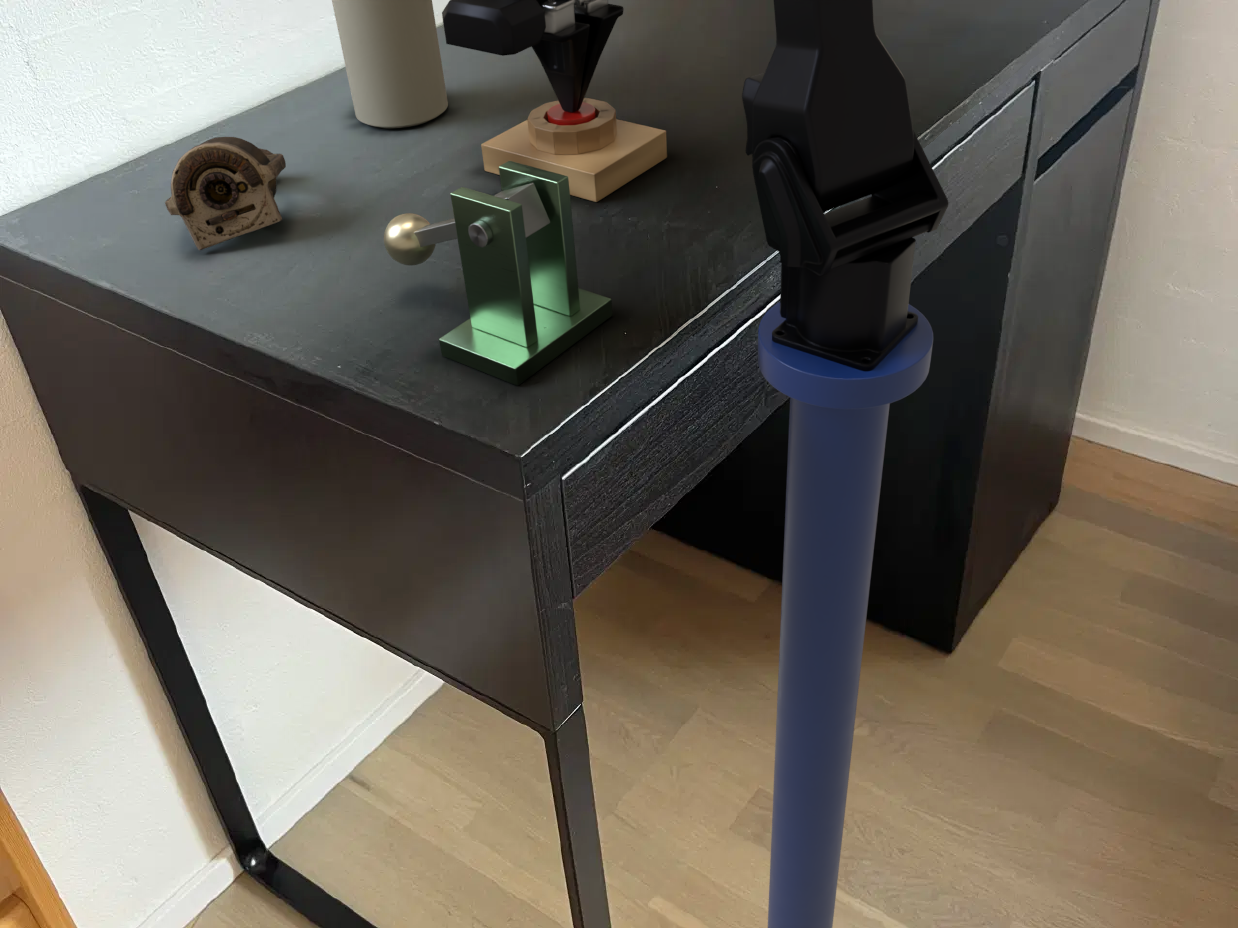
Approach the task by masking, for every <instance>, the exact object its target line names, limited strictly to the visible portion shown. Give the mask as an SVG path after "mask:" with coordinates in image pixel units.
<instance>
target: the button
mask: <svg viewBox="0 0 1238 928" xmlns="http://www.w3.org/2000/svg"><path fill="white" fill-rule="evenodd" d="M547 114H548V123H552V124H556V125H578V124H583V123H587V122H590V121H592V120H593V119H595V118H596V114H595V108H594V106H593V105H591V104H589V103H585V102H582V105H581V108H580V109H579V110H577V111H575V112H574V113H570V112H566V111H564V110H563V109H562V107H561V105H560V104H557V105H555V106H553V107H551V108H550V109H549V110H548V112H547Z"/></svg>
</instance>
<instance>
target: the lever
mask: <svg viewBox="0 0 1238 928" xmlns="http://www.w3.org/2000/svg"><path fill="white" fill-rule="evenodd" d="M493 196H495V197H499V198H502V199H506V200H509V201H513V202H516V203H519V204H522V210H523V219H524V227H525V235H526V238H527V237H528V236H530V235H532V234H533V233H535V232H536V231H538V230H539V229H541V228H543V227H544V226H546V225H547V224H549V223H550V220H549V218H548V216H547V213H546V211H545V208H544V206H543V204H542V201H541V199H540V197H539V194H538V192H537V190H536V187H535V185H534V183H531V184H527V185H523V186H519V187H516V188H512V189H508V190H505V191H502V190H501V191H499V192H498V193H496V194H494V195H493ZM454 240H458V238H457V232H456V226H455V220H454V217H453V218H449V219H445V220H441V221H437V222H434V223H430V222H429V221H428V220H427V219H426V218H425V217H423V216H421V215H419V214H417V213H411V212H410V213H409V212H407V213H402V214H399V215H397V216H395V217H394V218H392V219H391V220H390V221H389V223H388V224H387V225H386V227H385V230H384V232H383V244H384V248H385V250H386V251H387V253H388V255H389V256H390V257H391V258H392V259H393V260H394V261H395V262H397V263H399V264H401V265H404V266H418V265H421V264H423V263H425V262H426V261H427V260H428V259H430V257H431V256H432V255H433V253H434V251H435V249H436V245H437V244H440V243H445V242H450V241H454Z"/></svg>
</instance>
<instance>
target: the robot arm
mask: <svg viewBox="0 0 1238 928" xmlns="http://www.w3.org/2000/svg"><path fill="white" fill-rule="evenodd" d="M624 8H625V7H624V6H622V5H619V4H613V3H609V0H449V1H448V2H447V4H446V5H445V7H444V9H442V11H441V18H442V24H443V29H444V36H445V37H444V38H445V44H446V45H449V46H455V47H459V48H464V49H469V50H472V51H473V50H474V51H477V52H478V51H479V52H483V53H487V54H493V55H498V56H503V57H504V56H514V55H517V54H518V53H521V52H523V51H525V50H527V49H529V48H532V50H533V52H534V54H535V55H536V57H537V59H538V61H539V62H540V64H541V66H542V68H543V70H544V73H545V75H546V77H547V80H548V82H549V84H550V86H551V88H552V90H553V92H554V94H555V97H556V98H557V101H559V103H560V105H561V107H562V109H563V110H564V111H566V112H570V113H574V112H575V111H577V110H579V109H580V108H581V105H582V102H583V100H584V98H586V96H587V95H586V94H587V92H588V89H589V87H590V84H591V81H592V79H593V77H594V73H595V71H596V69H597V65H599V64H598V63H599V61H600V58H601V56H602V54H603V51H604V48H605V47H606V44H607V42H608V40H609V38H610V36H611V33H612V31H613V30H614V28H615V25H616V23H617V21H618V19H619V17H622V16H624V15H623V14H624V11H625V9H624ZM773 11H774V23H775V38H776V39H775V40H776V41H775V47H774V49H773V53H772V54H771V57H770V59H769V62H768V64H767V66H766V69H765V71H764V72H762V73H759V74H755V75H752V76H748V77H747V78H745V80H744V82H743V87H742V88H743V89H742V94H741V100H742V104H743V110H744V114H745V121H746V144H745V154H746V155H747V156H752V157H751V158H752V159H751V160H752V162H751V163H752V164H751V168H752V175H753V180H754V184H755V189H756V195H757V198H758V200H757V201H758V204H759V210H760V215H761V219H762V220H761V221H762V225H763V229H764V234H765V239H766V244H767V245H768V247H770V248H772V249H773V250H775V251H777V252H778V254H779V263H780V290H779V291H780V293H779V294H780V295H779V296H780V297H779V302H780V315H781V317H782V318H785V319H786V320H785V321H784V322H782V323H781V324H780V325H779V326H778V327H777V328H776V329H775V330H773V332H772V341H773V342H775V343H778V344H781V345H784V346H787V347H790V348H793V349H796V350H799V351H802V352H805V353H808V354H811V355H815V356H818V357H821V358H824V359H827V360H830V361H833V362H836V363H839V364H842V365H845V366H848V367H851V368H855V369H858V370H861V371H872V370H873V369H874V368H875V367H876V366H877V365H878V364H879V363H880V362H881V361H882V360H883V359H884V358H885V357H886V356H887V355H888V354H889V353H890V352H891V351H892V350H893V349H894V348H895V347H896V346H897V345H898V344H899V342H900V341H901V340H902V339H903V338H904V337H905V336H906V335H907V334H908V333H909V332H910V331H911V330H912V329H913V328H914V327H915V326H916V325H917V323H918V315H917V314H915V313H912V312H909V311H908V304H910V303H909V302H910V292H911V286H912V278H913V277H912V276H913V266H914V260H915V259H914V258H915V250H916V241H917V239H916V238H915V237H917V236H920V235H923V234H925V233H928V234H929V233H932V232H934V231H936V230H938V228H939V226H940V224H941V222H942V220H943V218H944V216H945V214H946V212H947V209H948V207H949V199H948V197H947V194H946V193H945V192H944V189H943V187H942V184H941V183H940V181H939V179H938V177H937V175H936V173H935V171H934V169H933V167H932V164H931V163H930V160H929V158H928V157H927V155H926V153H925V151H924V148H923V146H922V145H921V143H920V140H919V138H918V137H917V136H918V135H917V134H916V132H915V130H914V128H913V121H912V115H911V107H910V100H909V94H908V88H907V81H906V78H905V76H904V74H903V73H902V70H900V68H899V66H898V65H897V63H896V62H895V60H894V59H893V57H892V55H891V54H890V52H889V51H888V49H887V48H886V46H885V44H884V43H883V42H882V40H881V38H880V37H879V35H878V34H877V32H876V27H875V19H874V0H773ZM857 200H858V201H857ZM825 212H826V213H825Z"/></svg>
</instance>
